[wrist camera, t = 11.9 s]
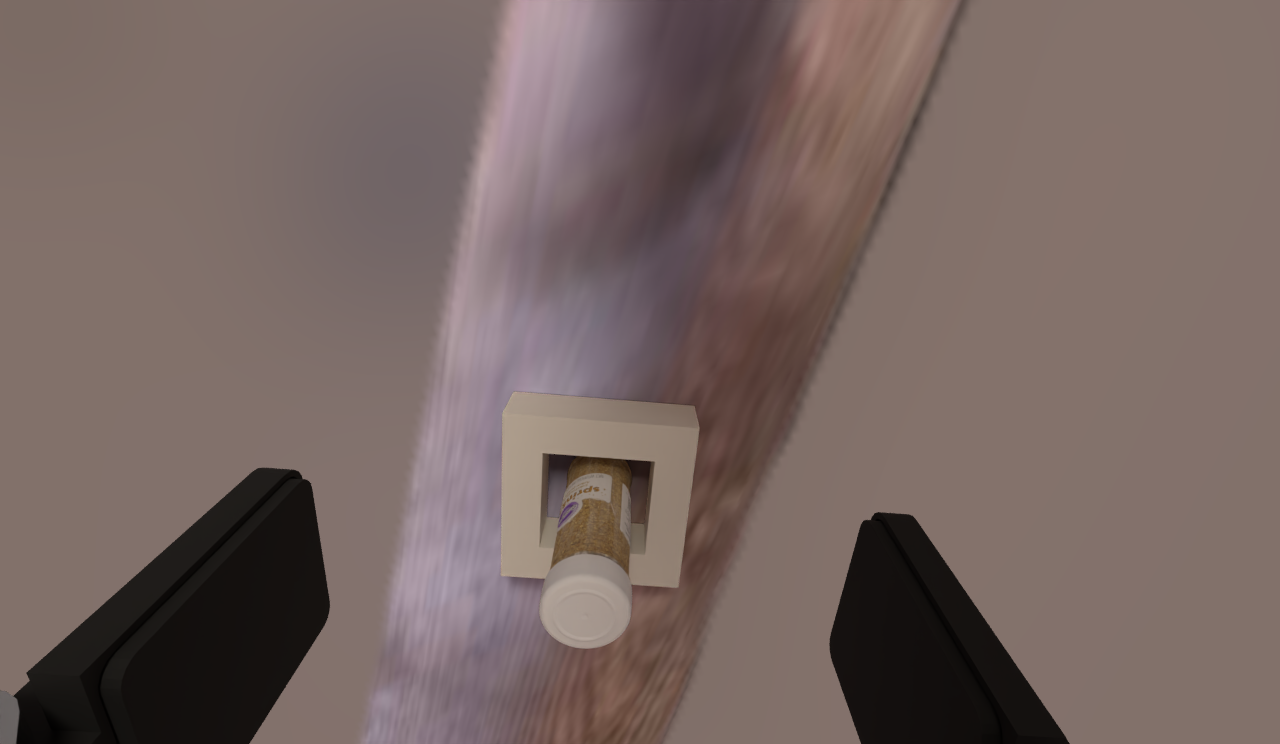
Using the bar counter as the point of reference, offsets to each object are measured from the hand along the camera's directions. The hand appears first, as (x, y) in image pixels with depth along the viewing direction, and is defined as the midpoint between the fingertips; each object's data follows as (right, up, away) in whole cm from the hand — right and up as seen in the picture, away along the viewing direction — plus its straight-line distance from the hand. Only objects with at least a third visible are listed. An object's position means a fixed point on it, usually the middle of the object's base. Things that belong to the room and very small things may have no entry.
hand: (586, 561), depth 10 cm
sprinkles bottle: (-2, -4, +31) cm, 32 cm away
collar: (-2, -4, +31) cm, 32 cm away
